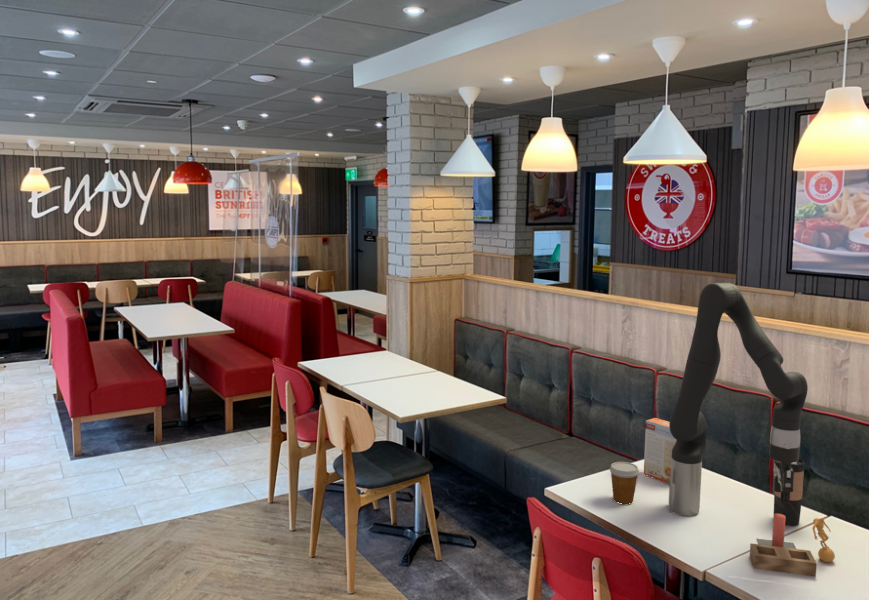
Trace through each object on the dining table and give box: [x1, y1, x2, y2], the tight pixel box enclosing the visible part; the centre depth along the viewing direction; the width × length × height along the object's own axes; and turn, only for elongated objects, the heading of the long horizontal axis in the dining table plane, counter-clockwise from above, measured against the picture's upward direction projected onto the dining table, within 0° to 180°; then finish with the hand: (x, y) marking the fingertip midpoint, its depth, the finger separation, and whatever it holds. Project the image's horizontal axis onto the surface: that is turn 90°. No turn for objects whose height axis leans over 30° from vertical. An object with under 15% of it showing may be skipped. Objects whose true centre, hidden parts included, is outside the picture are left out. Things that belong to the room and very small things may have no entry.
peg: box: [771, 513, 786, 547], centre depth 196 cm, size 3×3×10 cm
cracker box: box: [643, 417, 677, 485], centre depth 245 cm, size 14×6×21 cm, turn 34°
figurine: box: [812, 517, 836, 563], centre depth 189 cm, size 8×6×12 cm
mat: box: [756, 538, 797, 549], centre depth 197 cm, size 10×8×1 cm
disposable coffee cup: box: [609, 461, 640, 505], centre depth 228 cm, size 10×10×12 cm
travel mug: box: [773, 458, 805, 527], centre depth 212 cm, size 8×8×20 cm
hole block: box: [749, 543, 818, 578], centre depth 186 cm, size 15×7×4 cm, turn 74°
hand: (781, 497), depth 195 cm, fingers open, 8 cm apart
